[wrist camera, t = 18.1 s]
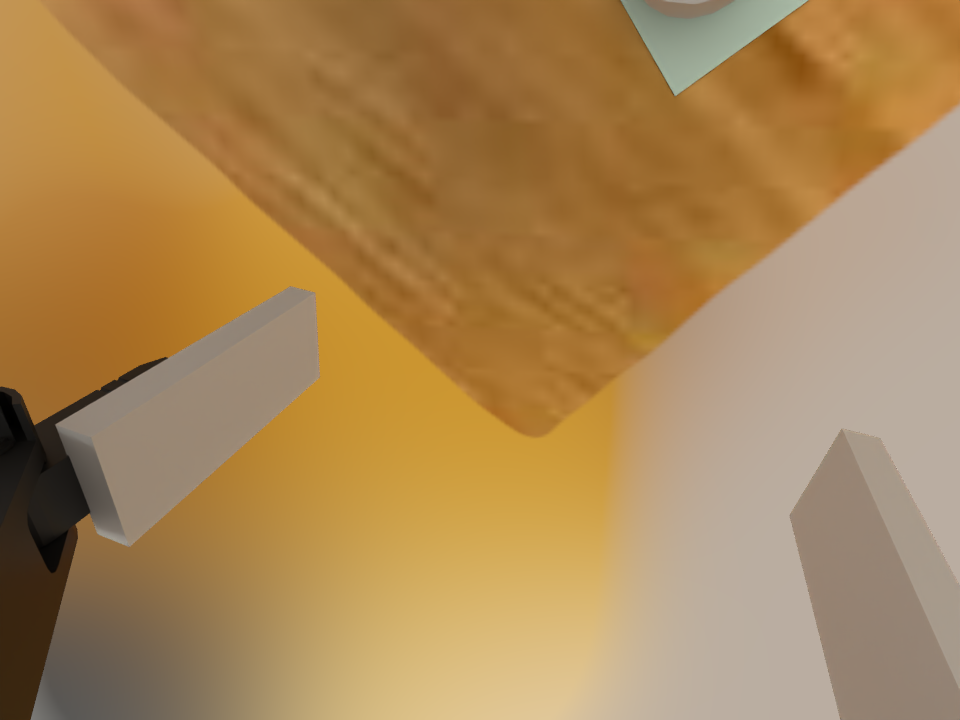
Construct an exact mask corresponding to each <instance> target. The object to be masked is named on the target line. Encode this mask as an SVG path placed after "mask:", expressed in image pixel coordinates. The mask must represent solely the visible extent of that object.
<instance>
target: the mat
mask: <svg viewBox="0 0 960 720" xmlns="http://www.w3.org/2000/svg"><path fill="white" fill-rule="evenodd" d="M807 1H808V0H735V1H733V2H732V3H730V4H728V5H727V6H725V7H723V8H722V9H720V10H718V11H716V12H715V13H713V14H709V15H705V16H700V17H696V18H692V19H685V18H676V17H668V16H666V15H664V14H662V13H660V12H659V11H657V10H655V9H653V8H651V7H649V5H648V4H647V3H646V2H645V1H644V0H621V2H622V4H623V6H624V7H625V9H626V11H627V13H628V14H629V16H630V18H631V20H632V21H633V23H634V25H635V27H636V28H637V30H638V32H639V34H640V35H641V37H642V39H643V41H644V42H645V44H646V46H647V48H648V49H649V51H650V53H651V55H652V56H653V58H654V60H655V62H656V63H657V65H658V67H659V69H660V70H661V72H662V74H663V76H664V77H665V79H666V81H667V83H668V85H669V86H670V88H671V90H672V92H673V93H674V95H675V96H676V95H678V94H679V93H680V92H682V91H683V90H684V89H686V88H687V87H689V86H690V85H691V84H693V83H694V82H696V81H697V80H698V79H700V78H701V77H703V76H704V75H705V74H707V73H708V72H709V71H711V70H712V69H714V68H715V67H716V66H718V65H719V64H721V63H722V62H723V61H725V60H726V59H728V58H729V57H730V56H732V55H733V54H734V53H736V52H737V51H739V50H740V49H741V48H743V47H744V46H746V45H747V44H748V43H750V42H751V41H753V40H754V39H755V38H757V37H758V36H759V35H761V34H762V33H764V32H765V31H766V30H768V29H769V28H771V27H772V26H773V25H775V24H776V23H777V22H779V21H780V20H782V19H783V18H784V17H786V16H787V15H789V14H790V13H791V12H793V11H794V10H796V9H797V8H798V7H800V6H801V5H802V4H804V3H805V2H807Z"/></svg>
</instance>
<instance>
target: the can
mask: <svg viewBox="0 0 960 720" xmlns="http://www.w3.org/2000/svg"><path fill="white" fill-rule="evenodd" d="M644 1H645V2H646V3H647V4H648V5H649V7H651V8H653V9H655V10H657V11H659V12H660V13H662V14H664V15H666V16H668V17H676V18H685V19H692V18H696V17H700V16H705V15H709V14H713V13H715V12H716V11H718V10H720V9H722V8H723V7H725V6H727V5H728V4H730V3H732V2H733V1H735V0H644Z"/></svg>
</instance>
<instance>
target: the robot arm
mask: <svg viewBox="0 0 960 720" xmlns="http://www.w3.org/2000/svg"><path fill="white" fill-rule="evenodd" d="M318 355H319V354H318V336H317V317H316V298H315V293H314V292H310V291H306V290H303V289H299V288H295V287H289V288H287V289H285V290H284V291H282V292H280V293H278V294H277V295H275V296H273V297H272V298H270V299H268V300H267V301H265V302H263V303H261V304H260V305H258V306H256V307H255V308H253V309H251V310H250V311H248V312H246V313H244V314H243V315H241V316H239V317H238V318H236V319H234V320H232V321H231V322H229V323H227V324H226V325H224V326H222V327H221V328H219V329H217V330H215V331H214V332H212V333H210V334H209V335H207V336H205V337H204V338H202V339H200V340H198V341H197V342H195V343H193V344H192V345H190V346H188V347H187V348H185V349H183V350H181V351H180V352H178V353H176V354H175V355H173V356H171V357H170V358H166V357H164V358H161V359H158V360H155V361H152V362H149V363H146V364H143V365H140V366H138V367H136V368H134V369H133V370H131V371H129V372H127V373H126V374H124V375H122V376H121V377H119V379H118V380H117V381H116V380H113V381H112V382H110V383H108V384H107V385H105V386H103V387H101V390H100V391H99V390H96V391H94V392H92V393H91V394H89V395H87V396H85V397H84V398H82V399H80V400H78V401H77V402H75V403H73V404H71V405H70V406H68V407H66V408H64V409H62V410H61V411H59V412H57V413H55V414H54V415H52V416H50V417H48V418H47V419H45V420H43V421H41V422H40V423H38V424H36V425H34V424H33V422H32V420H31V417H30V415H29V412H28V410H27V408H26V405H25V403H24V400H23V398H22V396H21V395H20V394H19V393H18V392H17V391H16V390H14V389H9V388H5V387H0V720H30V719H31V716H32V712H33V708H34V704H35V700H36V697H37V693H38V689H39V685H40V681H41V677H42V674H43V670H44V666H45V662H46V658H47V654H48V650H49V647H50V643H51V639H52V635H53V632H54V627H55V624H56V620H57V616H58V612H59V609H60V605H61V601H62V597H63V593H64V589H65V586H66V582H67V578H68V574H69V570H70V566H71V563H72V559H73V555H74V551H75V547H76V543H77V539H78V534H77V528H76V525H75V524H76V523H77V522H79V521H80V520H81V519H82V518H84V517H85V516H86V515H88V514H89V513H90V515H91V518H92V520H93V523H94V526H95V528H96V531H97V533H98V534H99V535H101V536H104V537H106V538H109V539H111V540H114V541H116V542H119V543H121V544H124V545H126V546H129V547H130V546H131V545H132V544H133V543H134V542H135V541H136V540H137V539H139V538H140V537H141V536H142V535H143V534H144V533H145V532H146V531H148V530H149V529H150V528H151V527H152V526H153V525H154V524H156V523H157V522H158V521H159V520H160V519H161V518H162V517H163V516H164V515H166V514H167V513H168V512H169V511H170V510H171V509H172V508H173V507H174V506H176V505H177V504H178V503H179V502H180V501H181V500H182V499H183V498H185V497H186V496H187V495H188V494H189V493H190V492H191V491H193V489H195V488H196V487H197V486H198V485H199V484H200V483H202V482H203V481H204V480H205V479H206V478H207V477H208V476H209V475H211V474H212V473H213V472H214V471H215V470H216V469H217V468H218V467H219V466H221V465H222V464H223V463H224V462H225V461H226V460H227V459H228V458H229V457H231V456H232V455H233V454H234V453H235V452H236V451H237V450H238V449H240V448H241V447H242V446H243V445H244V444H245V443H246V442H248V441H249V440H250V439H251V438H252V437H253V436H254V435H255V434H256V433H258V431H260V430H261V429H262V428H263V427H264V426H266V425H267V424H268V423H269V422H270V421H271V420H272V419H273V418H274V417H276V416H277V415H278V414H279V413H280V412H281V411H282V410H284V409H285V408H286V407H287V406H288V405H289V404H290V403H291V402H292V401H294V400H295V399H296V398H297V397H298V396H299V395H300V394H301V393H303V392H304V391H305V390H306V389H307V388H308V387H309V386H310V385H311V384H313V383H314V382H315V381H316V380H317V379H318V378H319V377H320V372H319V356H318ZM790 519H791V523H792V527H793V531H794V535H795V539H796V543H797V547H798V551H799V555H800V559H801V563H802V567H803V571H804V575H805V579H806V583H807V587H808V592H809V595H810V599H811V603H812V607H813V612H814V616H815V620H816V624H817V628H818V632H819V635H820V640H821V643H822V647H823V652H824V656H825V660H826V663H827V667H828V672H829V676H830V679H831V684H832V688H833V692H834V696H835V699H836V703H837V708H838V711H839V716H840V720H960V585H959V583H958V581H957V579H956V577H955V576H954V574H953V572H952V570H951V568H950V566H949V565H948V563H947V561H946V559H945V557H944V555H943V553H942V552H941V550H940V548H939V546H938V544H937V543H936V540H935V539H934V537H933V535H932V533H931V531H930V529H929V527H928V526H927V524H926V522H925V520H924V518H923V517H922V515H921V513H920V511H919V509H918V507H917V505H916V503H915V502H914V500H913V498H912V496H911V494H910V492H909V490H908V489H907V487H906V485H905V483H904V481H903V480H902V477H901V476H900V474H899V472H898V470H897V468H896V466H895V465H894V463H893V461H892V459H891V457H890V455H889V454H888V452H887V450H886V448H885V446H884V444H883V443H882V440H881V439H880V438H877V437H874V436H869V435H866V434H862V433H858V432H854V431H850V430H846V429H841V431H840V432H839V434H838V436H837V437H836V439H835V441H834V442H833V444H832V446H831V447H830V449H829V451H828V452H827V454H826V456H825V457H824V459H823V461H822V462H821V464H820V466H819V467H818V469H817V471H816V473H815V474H814V476H813V477H812V479H811V481H810V482H809V484H808V486H807V487H806V489H805V491H804V492H803V494H802V496H801V497H800V499H799V501H798V502H797V504H796V505H795V507H794V509H793V511H792V512H791V514H790Z"/></svg>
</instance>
